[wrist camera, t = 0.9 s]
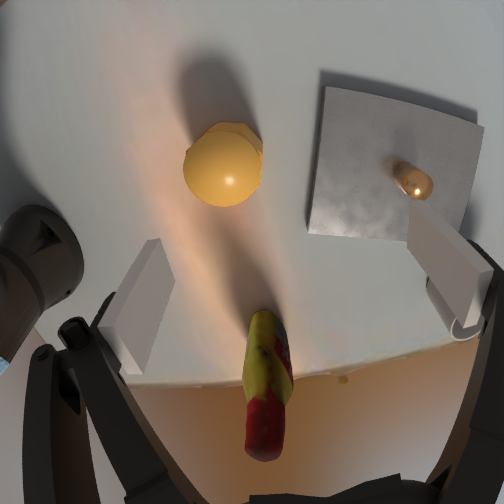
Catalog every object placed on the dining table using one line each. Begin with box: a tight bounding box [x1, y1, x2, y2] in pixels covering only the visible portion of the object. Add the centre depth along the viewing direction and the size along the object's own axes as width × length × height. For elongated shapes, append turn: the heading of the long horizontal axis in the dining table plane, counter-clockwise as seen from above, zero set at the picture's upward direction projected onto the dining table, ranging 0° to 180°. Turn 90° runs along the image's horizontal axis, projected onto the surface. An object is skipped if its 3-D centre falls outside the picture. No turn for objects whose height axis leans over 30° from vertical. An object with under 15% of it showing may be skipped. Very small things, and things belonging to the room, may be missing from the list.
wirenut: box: [183, 122, 263, 207], centre depth 28 cm, size 7×7×7 cm
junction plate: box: [307, 86, 484, 242], centre depth 29 cm, size 20×16×6 cm
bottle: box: [242, 311, 293, 462], centre depth 35 cm, size 12×6×20 cm, turn 6°
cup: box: [427, 278, 485, 341], centre depth 34 cm, size 7×10×9 cm
